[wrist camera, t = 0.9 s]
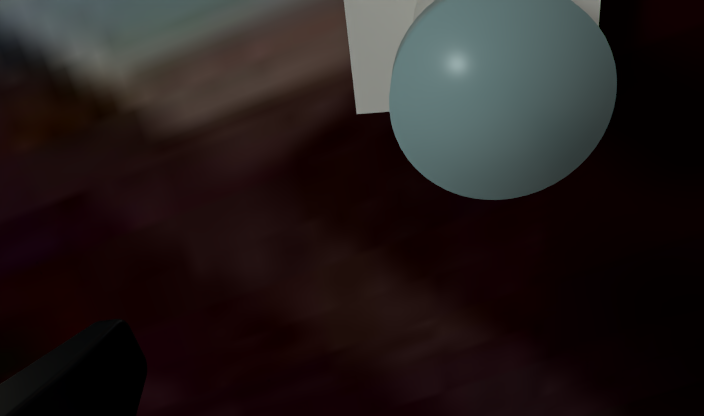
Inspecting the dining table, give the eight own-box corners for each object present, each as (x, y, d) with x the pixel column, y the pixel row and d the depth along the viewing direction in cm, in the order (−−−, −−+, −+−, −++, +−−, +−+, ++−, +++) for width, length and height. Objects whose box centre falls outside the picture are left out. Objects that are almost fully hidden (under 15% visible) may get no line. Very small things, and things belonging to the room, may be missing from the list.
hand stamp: (587, -97, 17) (735, -73, 9) (575, 74, 20) (685, 212, 12) (345, -68, 18) (287, -25, 10) (362, 91, 21) (327, 230, 12)
